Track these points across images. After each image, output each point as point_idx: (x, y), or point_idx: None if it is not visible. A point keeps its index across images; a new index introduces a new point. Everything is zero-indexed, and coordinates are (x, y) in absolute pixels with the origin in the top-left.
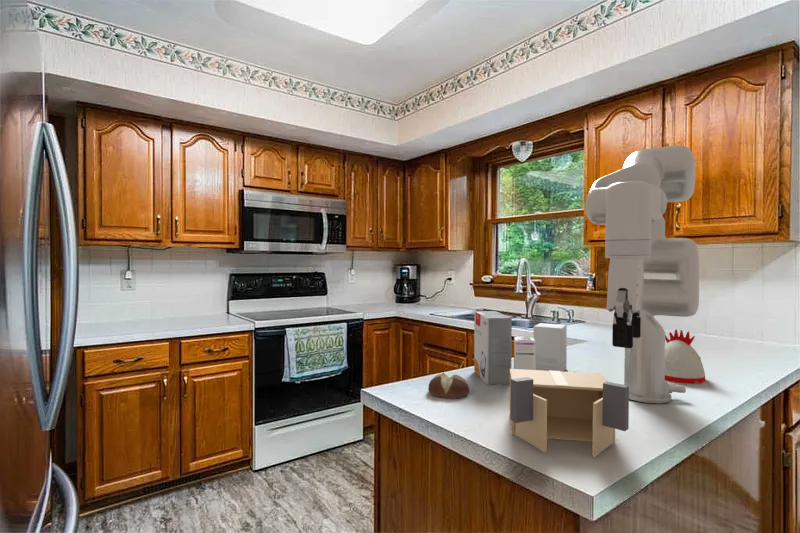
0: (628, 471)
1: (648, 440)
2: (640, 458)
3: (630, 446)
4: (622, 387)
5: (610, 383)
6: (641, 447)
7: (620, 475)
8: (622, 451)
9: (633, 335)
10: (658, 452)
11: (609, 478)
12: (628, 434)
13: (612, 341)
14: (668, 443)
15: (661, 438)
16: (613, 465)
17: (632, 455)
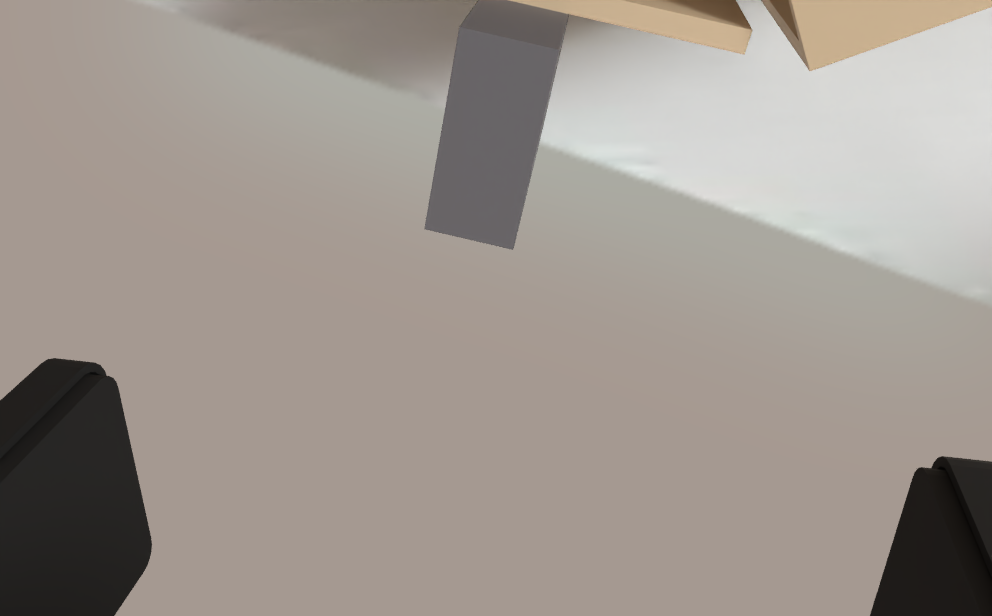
0: (390, 88)
1: (902, 154)
2: (592, 129)
3: (746, 67)
4: (430, 203)
5: (494, 95)
6: (762, 125)
7: (319, 58)
8: (641, 33)
9: (885, 611)
10: (730, 207)
11: (250, 14)
12: (966, 37)
13: (17, 387)
14: (900, 251)
15: (972, 218)
16: (414, 12)
17: (611, 89)
